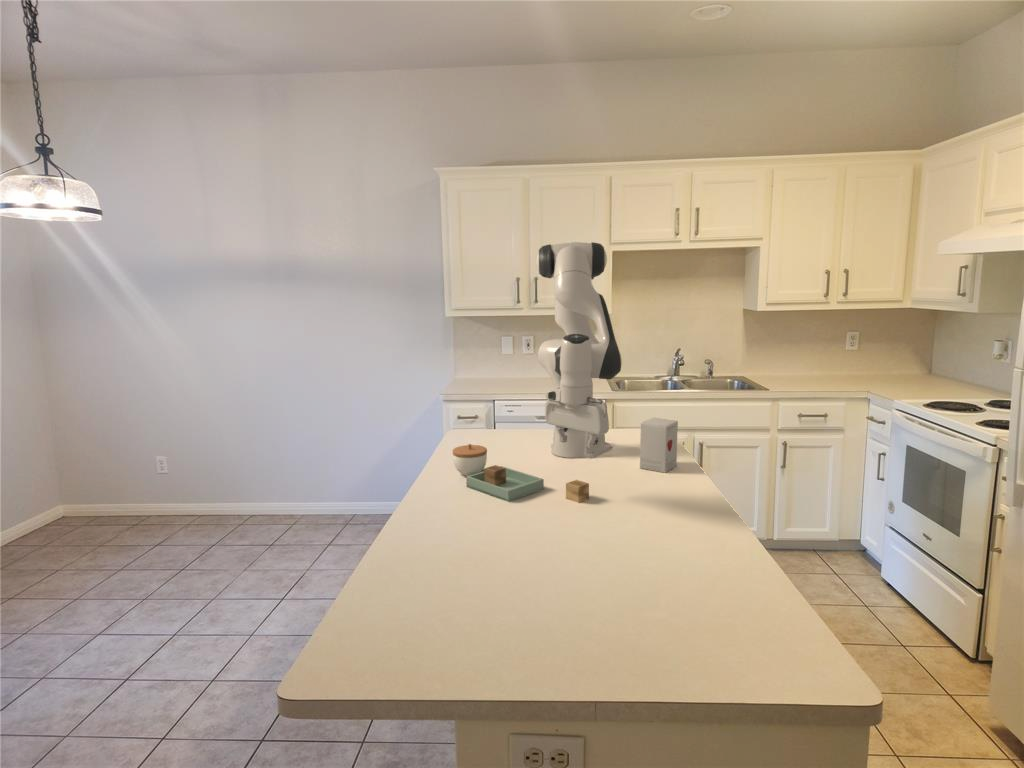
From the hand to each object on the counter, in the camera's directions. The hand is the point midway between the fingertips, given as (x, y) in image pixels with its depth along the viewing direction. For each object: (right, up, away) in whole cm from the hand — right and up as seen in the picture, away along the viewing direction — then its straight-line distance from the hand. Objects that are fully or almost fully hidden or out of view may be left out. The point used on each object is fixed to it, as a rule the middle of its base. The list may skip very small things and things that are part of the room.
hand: (576, 445), depth 177 cm
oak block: (+1, -15, +3) cm, 15 cm away
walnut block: (-22, -13, +15) cm, 30 cm away
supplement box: (+29, -10, +29) cm, 42 cm away
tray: (-20, -14, +12) cm, 27 cm away
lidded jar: (-31, -12, +27) cm, 42 cm away
